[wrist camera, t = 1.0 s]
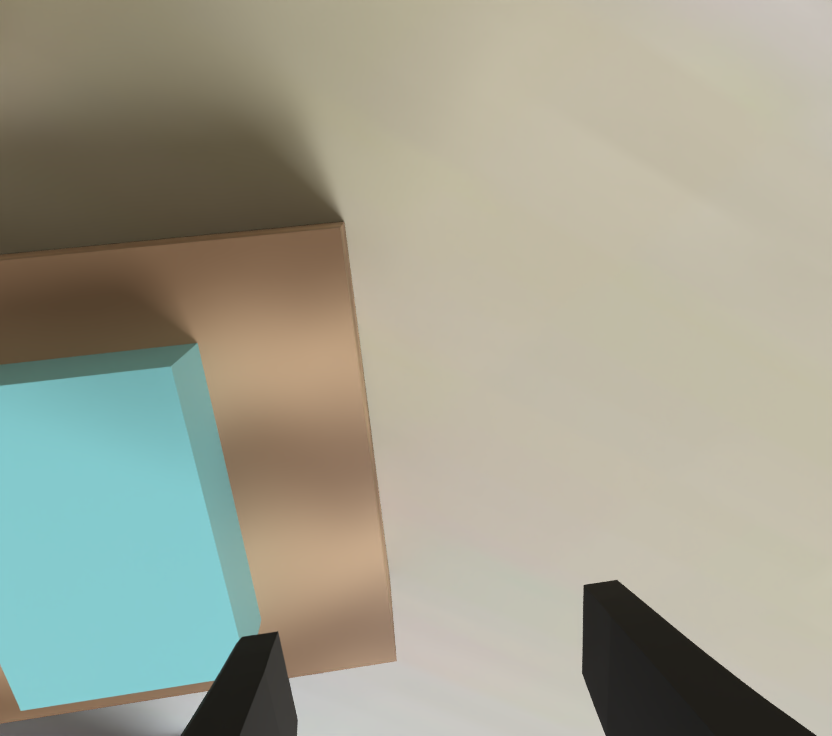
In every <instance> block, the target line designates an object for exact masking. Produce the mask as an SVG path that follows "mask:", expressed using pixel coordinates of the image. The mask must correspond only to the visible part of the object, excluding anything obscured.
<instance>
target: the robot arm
mask: <svg viewBox="0 0 832 736" xmlns="http://www.w3.org/2000/svg"><path fill="white" fill-rule="evenodd" d="M582 674H583V677H584V679H585V682H586V685H587V688H588V690H589V693H590V696H591V698H592V701H593V704H594V707H595V709H596V712H597V714H598V717H599V719H600V722H601V725H602V727H603V730H604V732H605V735H606V736H816V735H815V734H814V733H812V732H811V731H809V730H808V729H807V728H805V727H804V726H802V725H801V724H800V723H798V722H797V721H795V720H794V719H793V718H791V717H790V716H788V715H787V714H786V713H784V712H783V711H781V710H780V709H779V708H777V707H776V706H774V705H773V704H772V703H770V702H769V701H768V700H766V699H765V698H764V697H762V696H761V695H760V694H758V693H757V692H756V691H754V690H753V689H752V688H750V687H749V686H748V685H746V684H745V683H744V682H742V681H741V680H740V679H739V678H737V677H736V676H735V675H733V674H732V673H731V672H730V671H728V670H727V669H726V668H724V667H723V666H722V665H721V664H719V663H718V662H717V661H715V660H714V659H713V658H712V657H710V656H709V655H708V654H707V653H705V652H704V651H703V650H702V649H700V648H699V647H698V646H697V645H695V644H694V643H693V642H692V641H690V640H689V639H688V638H687V637H685V636H684V635H683V634H682V633H681V632H679V631H678V630H677V629H676V628H674V627H673V626H672V625H671V624H670V623H668V622H667V621H666V620H665V619H664V618H662V617H661V616H660V615H659V614H658V613H656V612H655V611H654V610H653V609H652V608H650V607H649V606H648V605H647V604H645V603H644V602H643V601H642V600H641V599H639V598H638V597H637V596H636V595H635V594H633V593H632V592H631V591H630V590H629V589H627V588H626V587H625V586H624V585H622V584H621V583H620V582H619V581H618V580H614V581H607V582H600V583H594V584H587V585H584V596H583V657H582ZM297 722H298V719H297V715H296V710H295V706H294V701H293V697H292V692H291V687H290V683H289V678H288V674H287V669H286V665H285V660H284V656H283V651H282V646H281V642H280V637H279V633H278V631H277V632H270V633H264V634H257V635H250V636H244V637H241V639H240V640H239V641H238V642H237V643H236V645H235V647H234V648H233V650H232V652H231V653H230V655H229V657H228V659H227V660H226V662H225V664H224V665H223V667H222V669H221V671H220V672H219V674H218V676H217V677H216V679H215V681H214V682H213V684H212V686H211V687H210V689H209V691H208V692H207V694H206V696H205V697H204V699H203V701H202V702H201V704H200V705H199V707H198V709H197V710H196V712H195V714H194V715H193V717H192V719H191V720H190V722H189V723H188V725H187V726H186V728H185V730H184V731H183V733H182V734H181V736H297Z"/></svg>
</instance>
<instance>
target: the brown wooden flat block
mask: <svg viewBox="0 0 832 736" xmlns="http://www.w3.org/2000/svg"><path fill="white" fill-rule="evenodd" d="M192 343H198V347H199V351H200V355H201V360H202V364H203V369H204V373H205V377H206V382H207V386H208V390H209V395H210V399H211V403H212V408H213V412H214V416H215V421H216V425H217V429H218V434H219V438H220V442H221V447H222V451H223V455H224V460H225V464H226V468H227V473H228V477H229V482H230V486H231V490H232V495H233V499H234V503H235V508H236V512H237V516H238V521H239V525H240V529H241V534H242V538H243V542H244V547H245V551H246V555H247V560H248V564H249V568H250V573H251V577H252V581H253V586H254V590H255V595H256V599H257V603H258V608H259V612H260V616H261V623H260V628H259V632H258V634H264V633H270V632H277V631H278V633H279V637H280V642H281V646H282V651H283V656H284V660H285V665H286V669H287V674H288V678H293V677H299V676H305V675H312V674H318V673H324V672H331V671H337V670H343V669H350V668H356V667H362V666H369V665H375V664H381V663H388V662H394V661H397V660H396V648H395V635H394V623H393V611H392V599H391V587H390V576H389V568H388V560H387V552H386V545H385V537H384V529H383V521H382V513H381V505H380V498H379V490H378V482H377V474H376V466H375V458H374V450H373V443H372V435H371V427H370V419H369V411H368V403H367V396H366V388H365V380H364V372H363V364H362V356H361V349H360V341H359V333H358V325H357V317H356V309H355V302H354V294H353V286H352V278H351V270H350V262H349V254H348V247H347V239H346V231H345V223H344V222H335V223H324V224H314V225H303V226H293V227H283V228H272V229H262V230H251V231H241V232H231V233H220V234H210V235H200V236H189V237H179V238H168V239H158V240H148V241H137V242H127V243H116V244H106V245H96V246H85V247H75V248H64V249H54V250H44V251H33V252H23V253H12V254H2V255H0V365H3V364H12V363H21V362H30V361H39V360H48V359H57V358H66V357H75V356H84V355H93V354H102V353H111V352H120V351H129V350H138V349H147V348H156V347H165V346H174V345H183V344H192ZM213 682H214V681H209V682H202V683H196V684H189V685H183V686H177V687H170V688H164V689H158V690H151V691H145V692H138V693H132V694H126V695H119V696H113V697H107V698H100V699H94V700H87V701H81V702H75V703H68V704H62V705H55V706H49V707H43V708H36V709H30V710H24V711H21V710H20V708H19V705H18V703H17V701H16V699H15V696H14V694H13V692H12V690H11V687H10V685H9V683H8V681H7V679H6V676H5V674H4V672H3V670H2V667H1V665H0V724H2V723H8V722H14V721H21V720H27V719H33V718H40V717H46V716H52V715H59V714H65V713H71V712H78V711H84V710H90V709H97V708H103V707H109V706H116V705H122V704H128V703H135V702H141V701H147V700H153V699H160V698H166V697H172V696H179V695H185V694H191V693H198V692H204V691H209V689H210V687H211V686H212V684H213Z"/></svg>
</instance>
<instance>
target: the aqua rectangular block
mask: <svg viewBox="0 0 832 736" xmlns="http://www.w3.org/2000/svg"><path fill="white" fill-rule="evenodd" d="M260 623H261V616H260V612H259V608H258V603H257V599H256V595H255V590H254V586H253V581H252V577H251V573H250V568H249V564H248V560H247V555H246V551H245V547H244V542H243V538H242V534H241V529H240V525H239V521H238V516H237V512H236V508H235V503H234V499H233V495H232V490H231V486H230V482H229V477H228V473H227V468H226V464H225V460H224V455H223V451H222V447H221V442H220V438H219V434H218V429H217V425H216V421H215V416H214V412H213V408H212V403H211V399H210V395H209V390H208V386H207V382H206V377H205V373H204V369H203V364H202V360H201V355H200V351H199V347H198V343H192V344H183V345H174V346H165V347H156V348H147V349H138V350H129V351H120V352H111V353H102V354H93V355H84V356H75V357H66V358H57V359H48V360H39V361H30V362H21V363H12V364H3V365H0V665H1V667H2V670H3V672H4V674H5V676H6V679H7V681H8V683H9V685H10V687H11V690H12V692H13V694H14V696H15V699H16V701H17V703H18V705H19V708H20V710H21V711H24V710H30V709H36V708H43V707H49V706H55V705H62V704H68V703H75V702H81V701H87V700H94V699H100V698H107V697H113V696H119V695H126V694H132V693H138V692H145V691H151V690H158V689H164V688H170V687H177V686H183V685H189V684H196V683H202V682H209V681H215V679H216V677H217V676H218V674H219V672H220V671H221V669H222V667H223V665H224V664H225V662H226V660H227V659H228V657H229V655H230V653H231V652H232V650H233V648H234V647H235V645H236V643H237V642H238V641H239V640H240V639H241V637H244V636H250V635H257V634H258V632H259V628H260Z"/></svg>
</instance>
